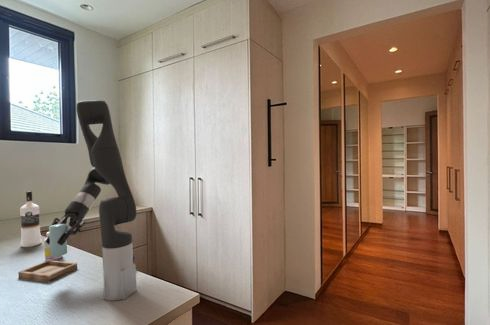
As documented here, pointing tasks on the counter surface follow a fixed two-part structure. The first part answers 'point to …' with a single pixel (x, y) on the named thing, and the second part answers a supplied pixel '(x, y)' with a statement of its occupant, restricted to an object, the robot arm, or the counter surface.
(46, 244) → the supplement bottle
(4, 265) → the counter surface
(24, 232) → the vodka
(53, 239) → the pale green capsule
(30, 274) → the tray
